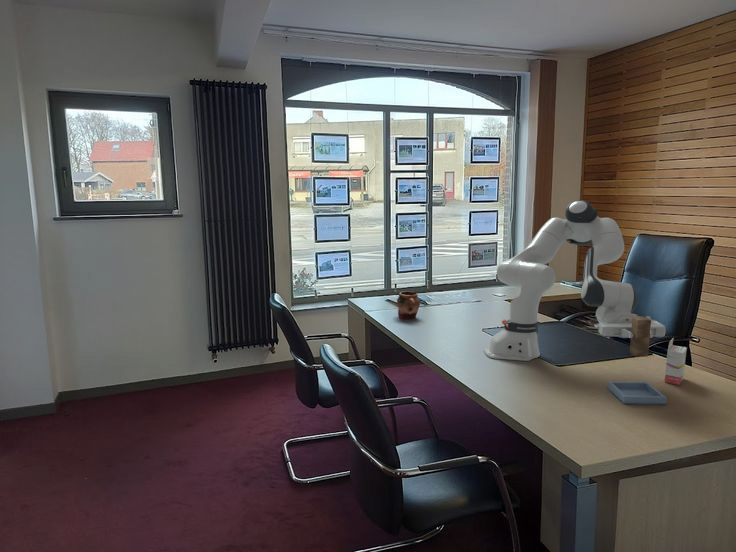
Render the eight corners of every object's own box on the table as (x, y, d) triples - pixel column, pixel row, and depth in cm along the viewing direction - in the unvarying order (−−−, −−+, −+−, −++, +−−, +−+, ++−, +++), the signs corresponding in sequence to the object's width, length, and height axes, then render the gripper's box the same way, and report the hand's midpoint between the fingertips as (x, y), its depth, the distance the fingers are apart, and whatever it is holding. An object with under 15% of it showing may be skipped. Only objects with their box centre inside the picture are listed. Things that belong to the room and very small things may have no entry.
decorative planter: (426, 321, 263) (426, 295, 260) (404, 323, 259) (404, 297, 257) (411, 313, 281) (411, 288, 279) (391, 314, 278) (391, 290, 275)
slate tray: (623, 404, 158) (624, 396, 158) (607, 388, 171) (607, 381, 171) (666, 404, 158) (666, 397, 157) (646, 389, 170) (647, 382, 170)
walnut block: (635, 356, 160) (638, 320, 158) (629, 352, 164) (632, 317, 162) (648, 356, 160) (651, 320, 158) (642, 352, 164) (645, 317, 162)
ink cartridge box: (680, 385, 173) (684, 344, 170) (664, 382, 176) (667, 342, 174) (684, 378, 179) (688, 339, 177) (668, 375, 182) (672, 336, 180)
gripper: (592, 315, 174) (608, 326, 160) (653, 315, 172) (675, 326, 159) (591, 333, 175) (607, 345, 161) (652, 333, 173) (673, 345, 160)
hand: (641, 335), depth 160 cm, fingers closed on walnut block, 4 cm apart
